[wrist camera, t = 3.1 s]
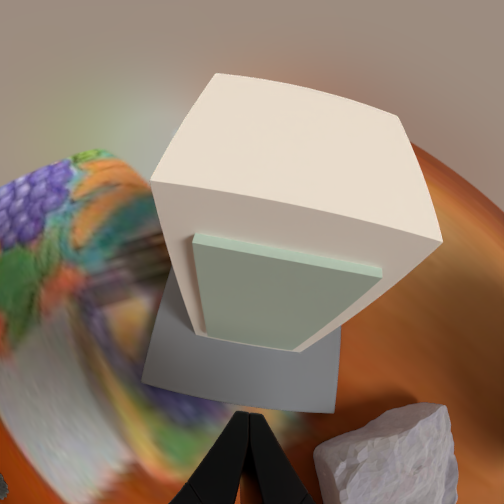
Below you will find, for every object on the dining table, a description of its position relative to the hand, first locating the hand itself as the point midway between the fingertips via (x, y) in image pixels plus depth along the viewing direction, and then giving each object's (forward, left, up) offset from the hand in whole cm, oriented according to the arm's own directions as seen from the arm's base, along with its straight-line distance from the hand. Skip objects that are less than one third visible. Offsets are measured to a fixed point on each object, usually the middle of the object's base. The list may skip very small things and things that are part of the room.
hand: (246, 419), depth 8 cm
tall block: (+6, +3, -6) cm, 9 cm away
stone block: (0, -12, -8) cm, 14 cm away
